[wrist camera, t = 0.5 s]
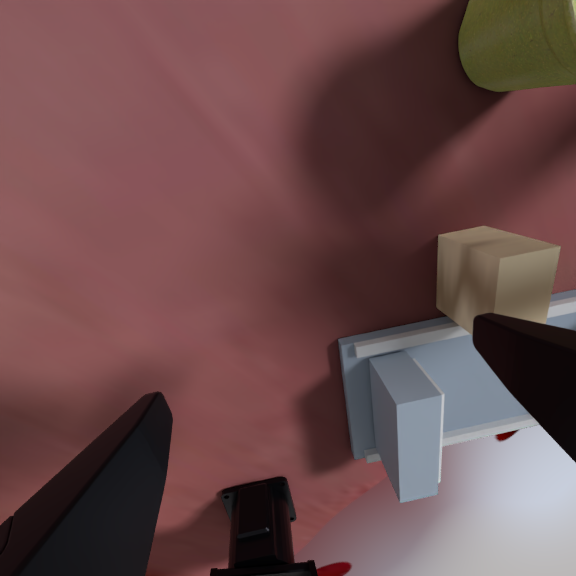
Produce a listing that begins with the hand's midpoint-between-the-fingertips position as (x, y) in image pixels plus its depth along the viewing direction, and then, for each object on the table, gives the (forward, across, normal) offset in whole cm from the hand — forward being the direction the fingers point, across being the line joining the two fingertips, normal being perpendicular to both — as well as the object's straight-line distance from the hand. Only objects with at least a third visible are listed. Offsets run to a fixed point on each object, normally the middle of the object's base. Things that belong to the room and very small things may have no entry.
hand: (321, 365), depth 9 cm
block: (+14, -13, +5) cm, 19 cm away
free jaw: (+12, -6, +15) cm, 21 cm away
